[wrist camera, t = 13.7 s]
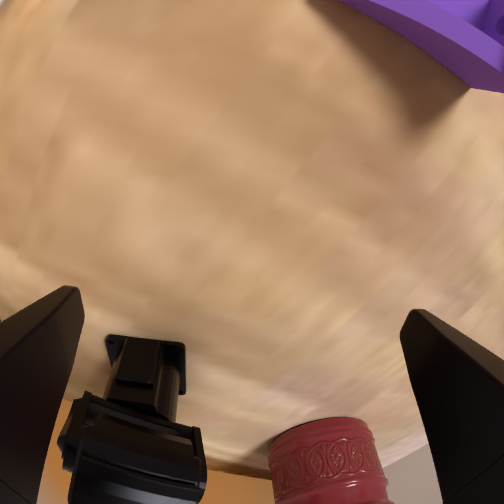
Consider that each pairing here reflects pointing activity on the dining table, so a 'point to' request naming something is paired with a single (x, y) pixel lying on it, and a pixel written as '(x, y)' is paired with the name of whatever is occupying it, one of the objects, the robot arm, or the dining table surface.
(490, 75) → the bracket
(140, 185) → the dining table surface
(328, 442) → the canister
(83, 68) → the dining table surface
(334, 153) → the dining table surface
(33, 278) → the dining table surface
